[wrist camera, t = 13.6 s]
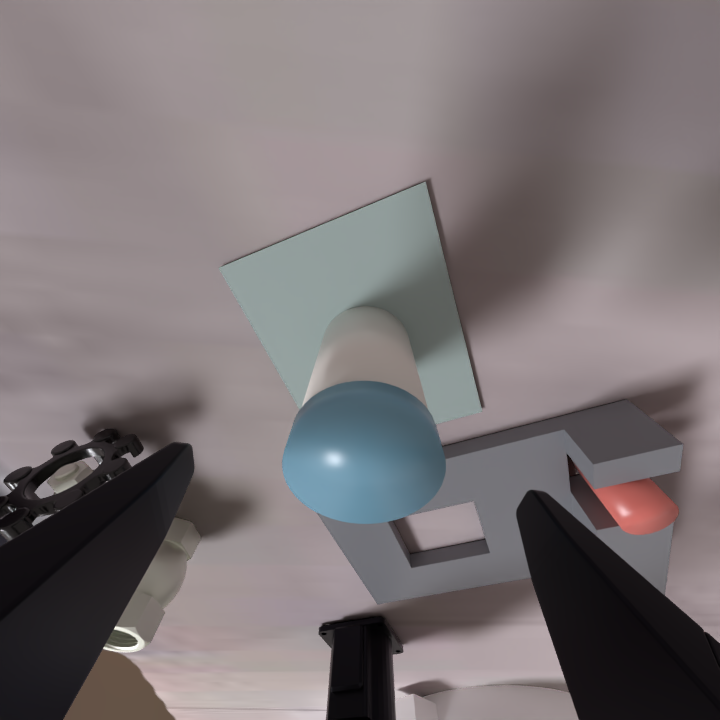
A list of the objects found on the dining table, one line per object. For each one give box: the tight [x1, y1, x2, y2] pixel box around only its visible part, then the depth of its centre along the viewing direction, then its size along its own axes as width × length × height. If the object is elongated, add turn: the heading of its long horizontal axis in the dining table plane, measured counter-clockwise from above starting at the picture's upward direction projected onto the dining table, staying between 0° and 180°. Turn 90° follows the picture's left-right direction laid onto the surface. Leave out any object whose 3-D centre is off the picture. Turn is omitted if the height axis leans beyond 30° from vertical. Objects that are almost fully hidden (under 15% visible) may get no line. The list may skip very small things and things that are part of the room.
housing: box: [317, 399, 683, 604], centre depth 21 cm, size 14×19×4 cm
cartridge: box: [282, 306, 446, 524], centre depth 12 cm, size 5×5×8 cm
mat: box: [219, 182, 482, 424], centre depth 16 cm, size 12×10×1 cm
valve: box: [0, 429, 201, 652], centre depth 19 cm, size 7×7×12 cm
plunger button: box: [573, 462, 679, 535], centre depth 17 cm, size 3×3×4 cm
